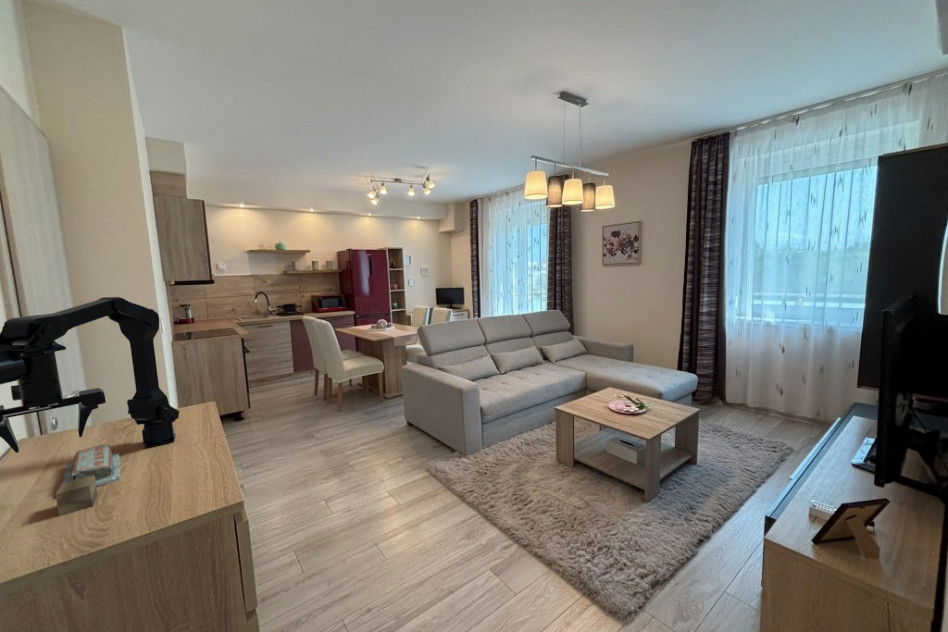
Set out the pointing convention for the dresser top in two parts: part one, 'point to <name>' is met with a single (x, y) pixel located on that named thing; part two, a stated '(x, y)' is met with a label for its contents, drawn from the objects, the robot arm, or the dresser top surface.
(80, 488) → the walnut block
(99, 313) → the robot arm
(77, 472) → the packaged product
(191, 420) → the dresser top surface
